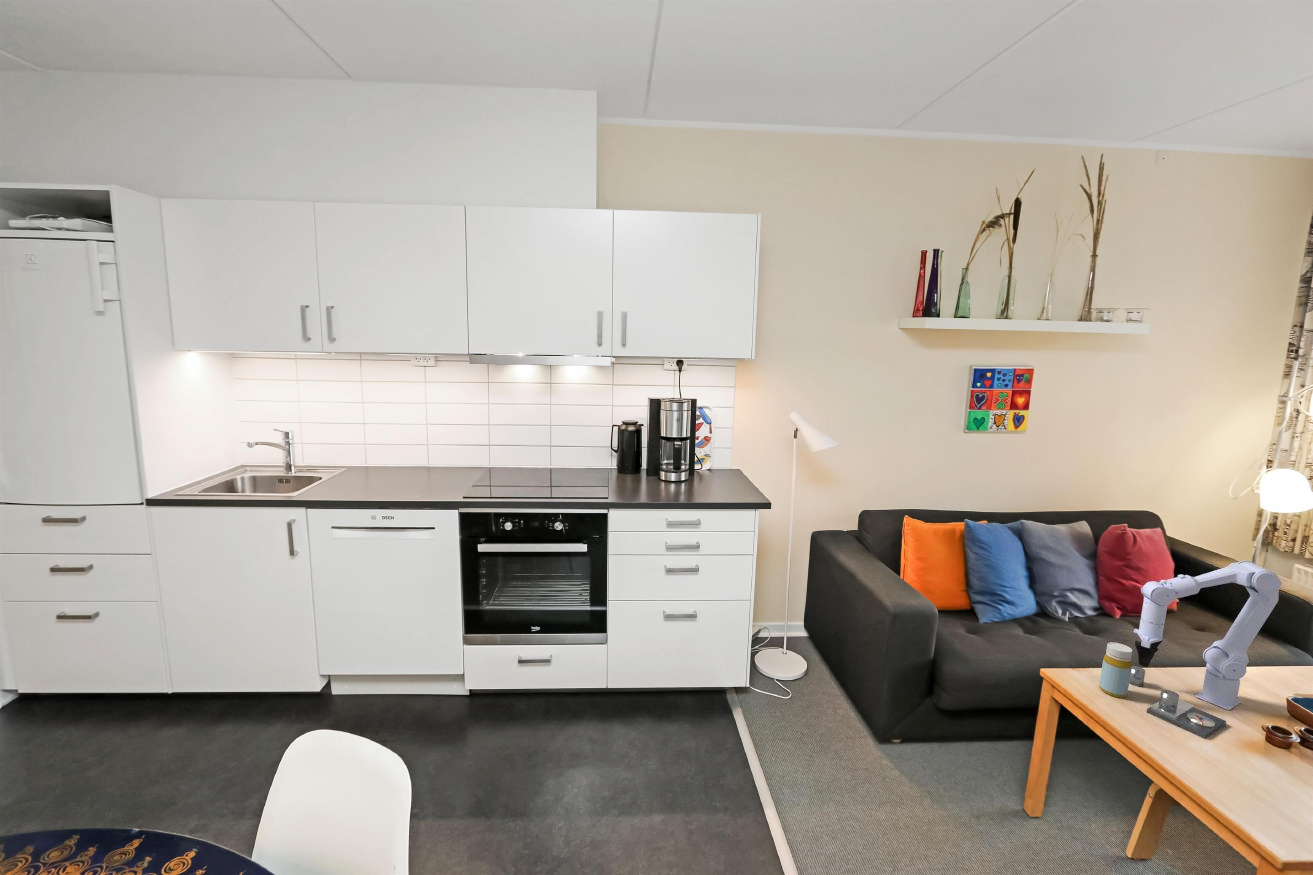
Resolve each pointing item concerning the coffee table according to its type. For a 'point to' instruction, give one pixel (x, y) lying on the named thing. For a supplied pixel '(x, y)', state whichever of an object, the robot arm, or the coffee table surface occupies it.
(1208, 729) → the scale
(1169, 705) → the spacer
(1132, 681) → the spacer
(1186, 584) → the robot arm
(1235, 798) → the coffee table surface
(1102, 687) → the bottle
